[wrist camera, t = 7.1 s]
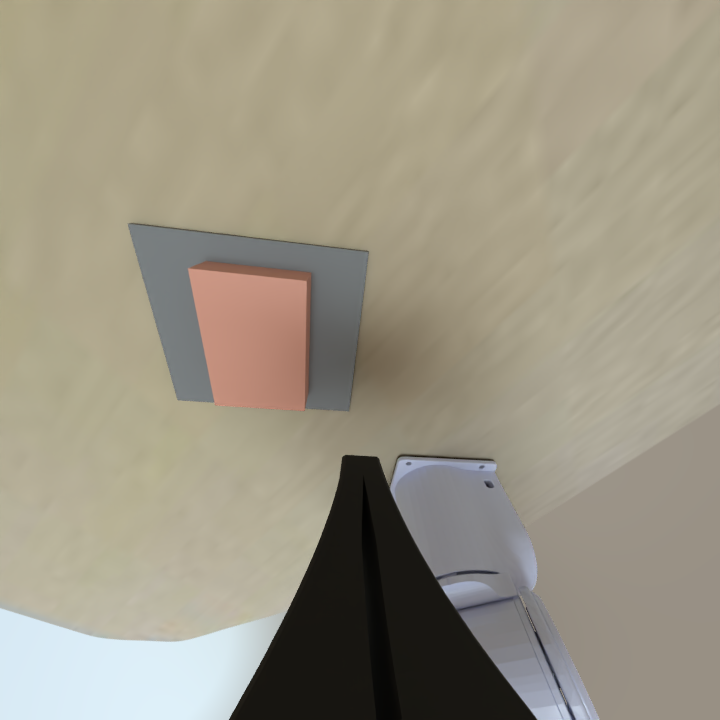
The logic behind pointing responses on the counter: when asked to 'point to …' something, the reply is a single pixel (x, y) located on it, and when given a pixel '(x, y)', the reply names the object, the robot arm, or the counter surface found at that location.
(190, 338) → the mat
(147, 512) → the counter surface
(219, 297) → the block
